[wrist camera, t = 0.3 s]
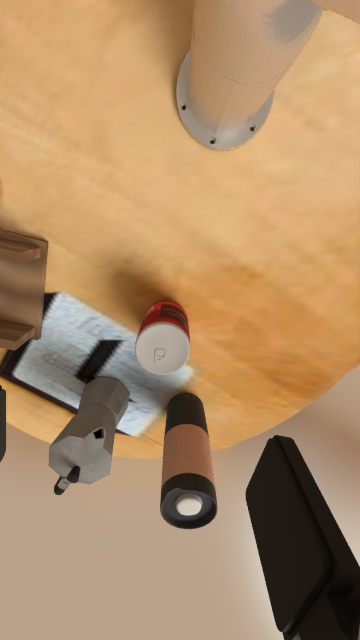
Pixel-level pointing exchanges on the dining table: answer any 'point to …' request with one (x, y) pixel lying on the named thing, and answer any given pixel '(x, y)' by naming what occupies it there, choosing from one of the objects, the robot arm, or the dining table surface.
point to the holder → (21, 288)
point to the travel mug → (187, 466)
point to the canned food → (163, 339)
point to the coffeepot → (89, 435)
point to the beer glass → (1, 190)
